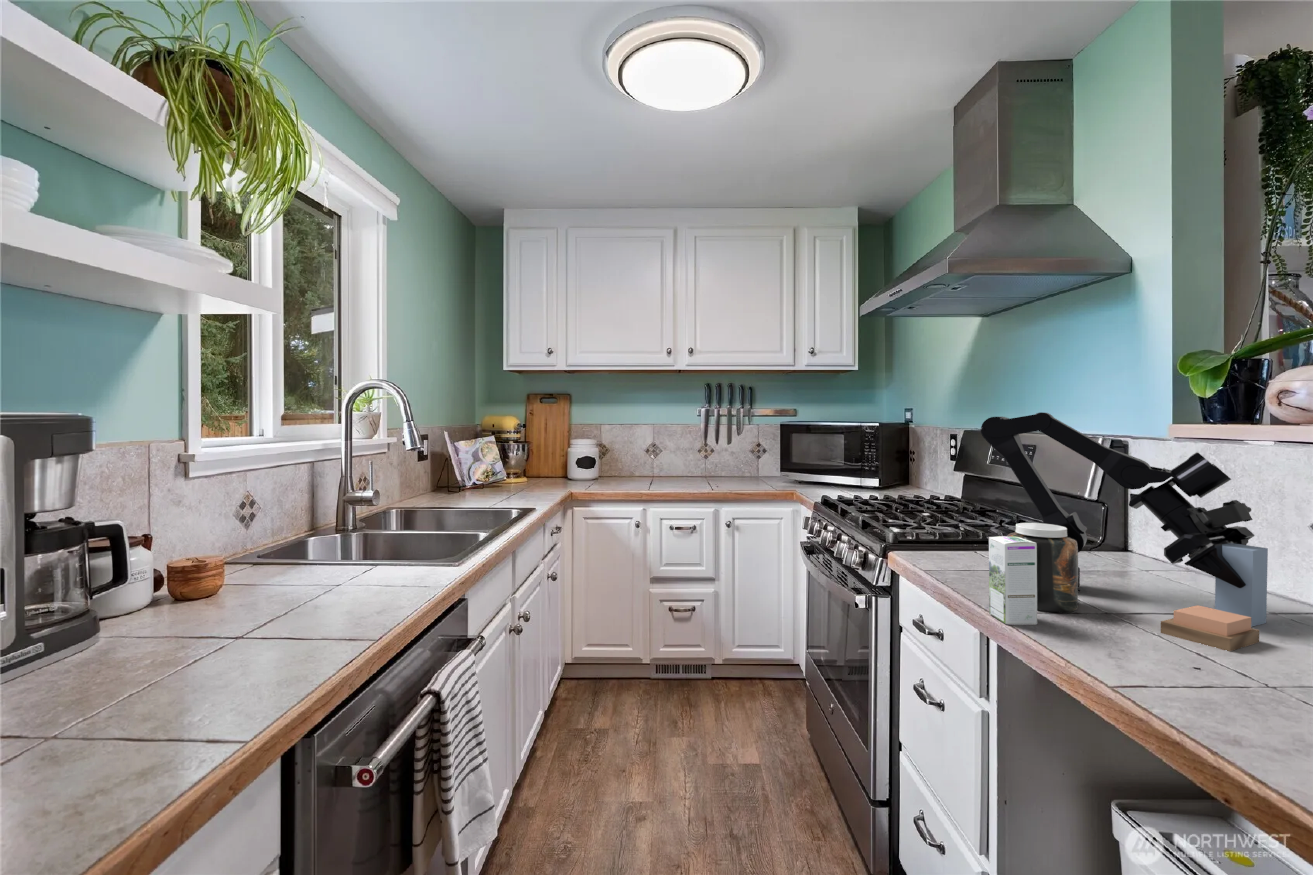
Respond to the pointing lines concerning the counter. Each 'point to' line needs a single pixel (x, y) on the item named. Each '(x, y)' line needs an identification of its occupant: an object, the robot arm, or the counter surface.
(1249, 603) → the slate blue block
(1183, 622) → the terracotta block
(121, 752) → the counter surface
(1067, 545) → the jar
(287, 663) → the counter surface
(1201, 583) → the counter surface
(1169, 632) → the walnut block
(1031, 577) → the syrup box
